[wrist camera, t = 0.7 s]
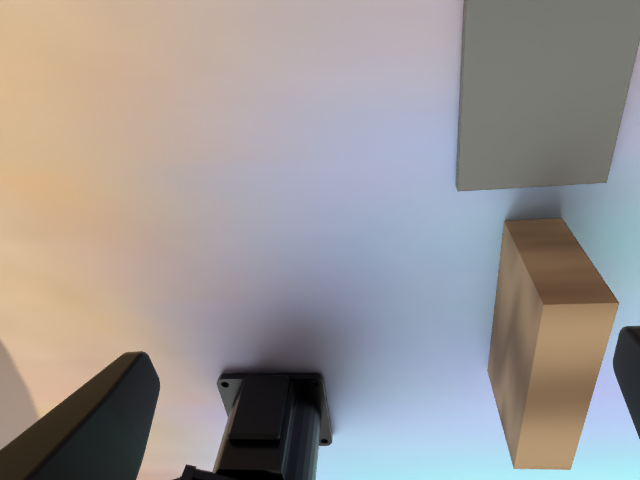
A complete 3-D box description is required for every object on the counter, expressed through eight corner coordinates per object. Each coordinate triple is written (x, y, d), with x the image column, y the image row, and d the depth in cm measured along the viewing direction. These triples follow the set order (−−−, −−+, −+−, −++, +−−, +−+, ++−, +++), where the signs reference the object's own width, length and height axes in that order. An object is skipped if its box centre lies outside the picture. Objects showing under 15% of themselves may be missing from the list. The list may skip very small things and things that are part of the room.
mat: (600, 176, 20) (606, 182, 20) (455, 185, 21) (457, 191, 20) (684, -200, 14) (696, -205, 13) (471, -166, 15) (474, -170, 14)
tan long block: (532, 369, 27) (570, 469, 22) (487, 369, 27) (513, 468, 22) (560, 216, 21) (619, 302, 16) (503, 219, 22) (543, 304, 17)
